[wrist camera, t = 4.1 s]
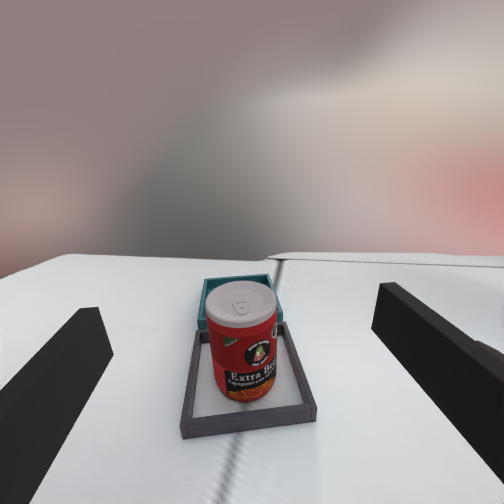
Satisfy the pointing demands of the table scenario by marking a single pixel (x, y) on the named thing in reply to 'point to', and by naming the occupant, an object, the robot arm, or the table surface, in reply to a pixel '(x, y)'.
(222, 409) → the table surface
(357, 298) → the table surface
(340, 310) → the table surface
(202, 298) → the tray
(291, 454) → the table surface
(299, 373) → the tray
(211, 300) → the canned food
